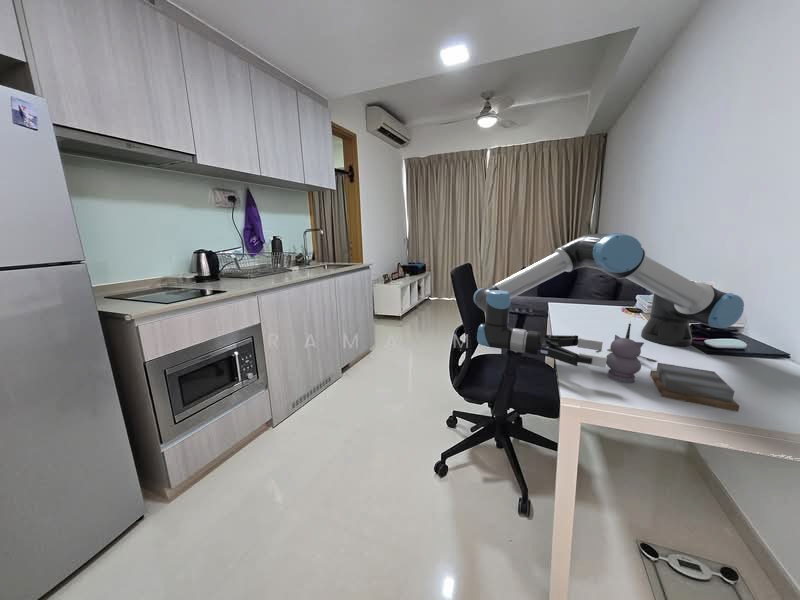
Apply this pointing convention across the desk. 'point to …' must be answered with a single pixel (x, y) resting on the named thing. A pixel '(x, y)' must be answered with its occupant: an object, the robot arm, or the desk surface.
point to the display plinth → (693, 386)
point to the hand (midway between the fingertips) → (604, 353)
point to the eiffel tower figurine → (628, 338)
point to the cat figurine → (624, 359)
